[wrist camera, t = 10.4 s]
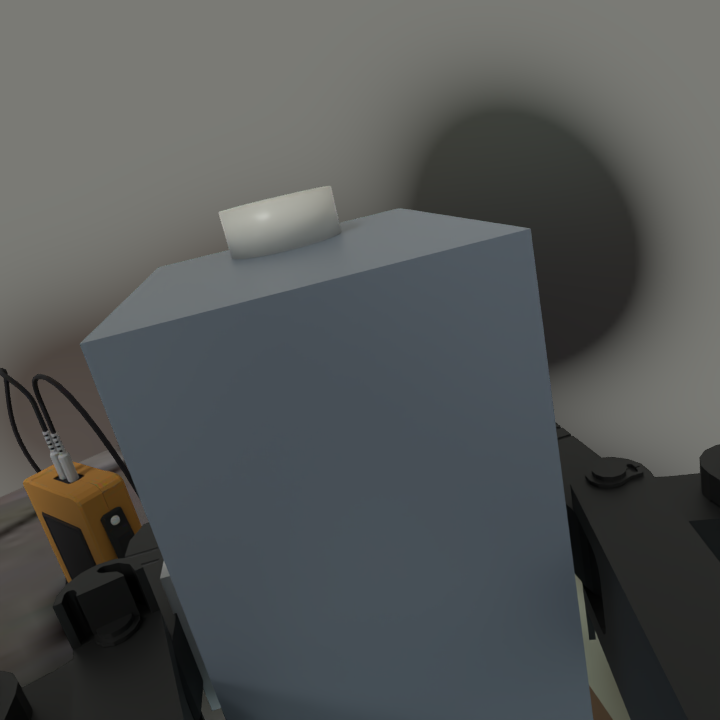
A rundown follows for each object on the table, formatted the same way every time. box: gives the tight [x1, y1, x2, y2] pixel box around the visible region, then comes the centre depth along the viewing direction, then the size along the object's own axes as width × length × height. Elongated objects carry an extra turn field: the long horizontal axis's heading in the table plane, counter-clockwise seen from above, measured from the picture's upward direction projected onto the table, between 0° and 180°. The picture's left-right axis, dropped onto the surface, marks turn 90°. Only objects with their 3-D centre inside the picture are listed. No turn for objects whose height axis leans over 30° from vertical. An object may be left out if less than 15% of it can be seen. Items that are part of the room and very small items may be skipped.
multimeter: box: [0, 368, 142, 584], centre depth 38 cm, size 15×10×20 cm
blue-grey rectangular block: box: [80, 186, 593, 720], centre depth 11 cm, size 5×10×15 cm, turn 11°
